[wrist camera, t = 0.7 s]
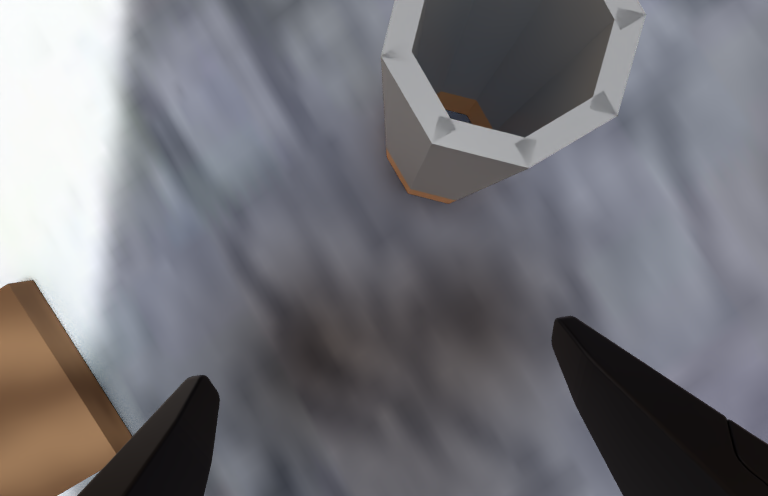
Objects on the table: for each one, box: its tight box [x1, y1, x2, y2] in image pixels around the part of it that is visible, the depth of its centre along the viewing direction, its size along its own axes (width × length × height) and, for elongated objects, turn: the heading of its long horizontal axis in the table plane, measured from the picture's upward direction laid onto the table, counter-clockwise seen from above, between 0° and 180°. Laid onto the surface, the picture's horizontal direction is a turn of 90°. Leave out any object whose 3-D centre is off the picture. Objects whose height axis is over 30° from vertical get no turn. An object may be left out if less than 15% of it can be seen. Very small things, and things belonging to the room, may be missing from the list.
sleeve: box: [381, 0, 646, 204], centre depth 16 cm, size 6×6×13 cm
